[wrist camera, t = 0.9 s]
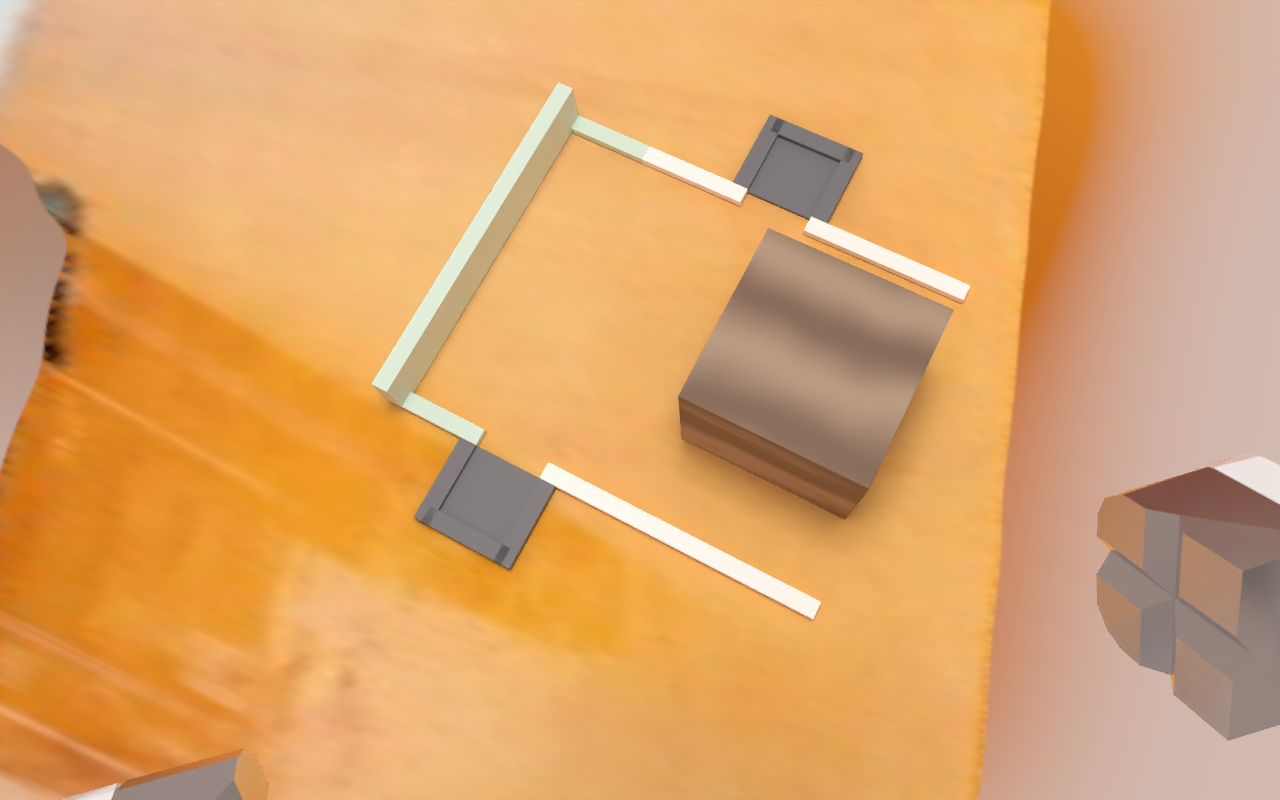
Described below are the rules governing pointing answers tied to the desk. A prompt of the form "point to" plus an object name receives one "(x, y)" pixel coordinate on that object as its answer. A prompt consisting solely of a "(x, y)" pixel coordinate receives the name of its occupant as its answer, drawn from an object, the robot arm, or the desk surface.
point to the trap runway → (473, 478)
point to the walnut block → (810, 372)
